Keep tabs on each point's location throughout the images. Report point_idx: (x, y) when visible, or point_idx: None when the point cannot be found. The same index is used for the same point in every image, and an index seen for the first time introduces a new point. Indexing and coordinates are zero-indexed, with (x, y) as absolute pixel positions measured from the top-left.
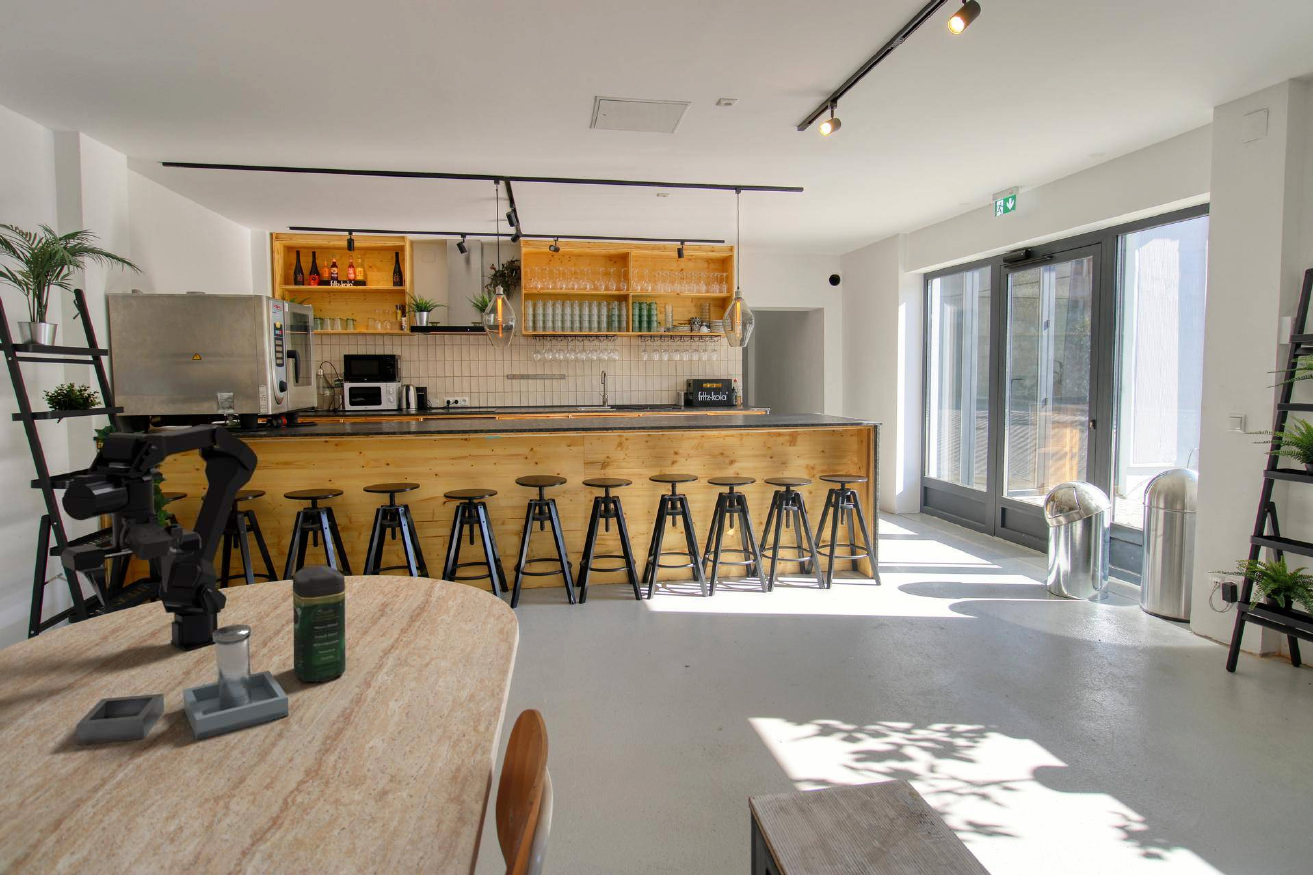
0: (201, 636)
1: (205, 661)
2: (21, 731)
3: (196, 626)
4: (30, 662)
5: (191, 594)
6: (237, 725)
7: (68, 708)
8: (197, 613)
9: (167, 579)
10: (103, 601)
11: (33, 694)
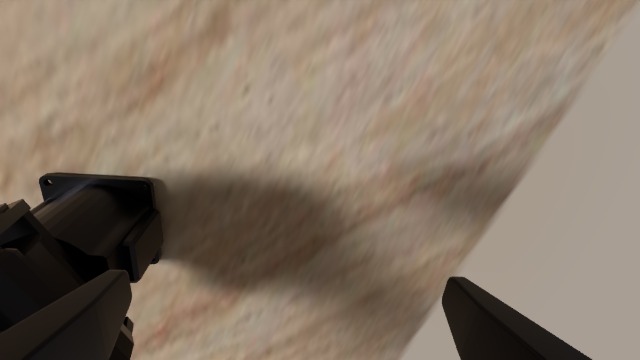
0: (92, 194)
1: (143, 65)
2: (605, 28)
3: (85, 216)
4: (379, 347)
5: (3, 267)
6: None
7: (491, 67)
8: (50, 236)
9: (66, 338)
10: (485, 293)
11: (468, 205)
